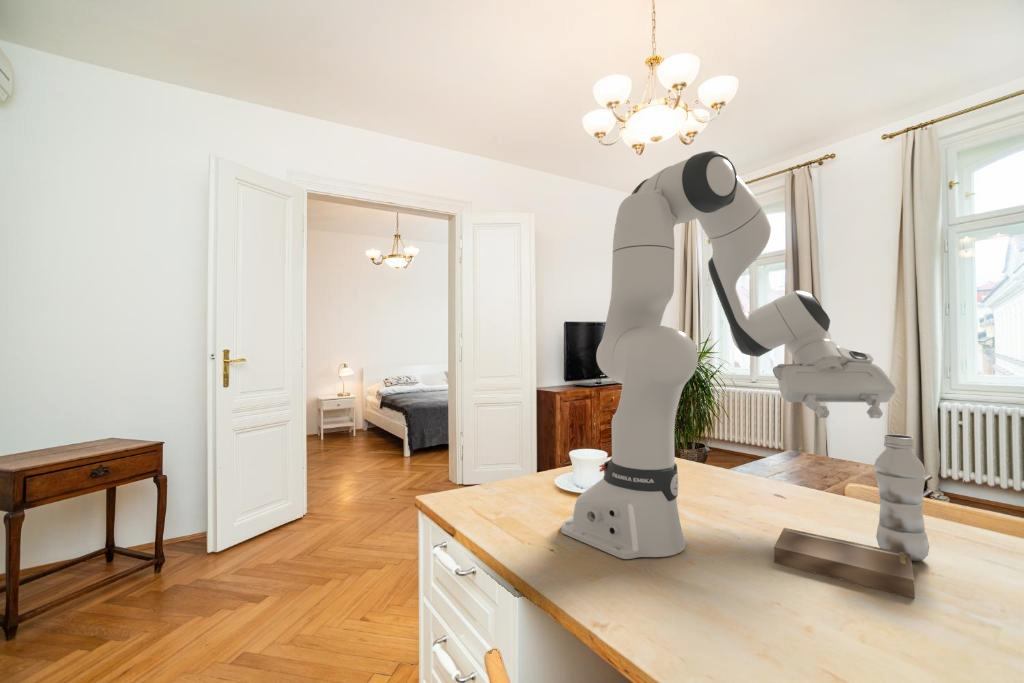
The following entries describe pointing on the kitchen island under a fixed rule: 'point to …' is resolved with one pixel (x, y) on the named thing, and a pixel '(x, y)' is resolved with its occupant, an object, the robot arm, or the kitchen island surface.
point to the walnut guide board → (846, 561)
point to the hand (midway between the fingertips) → (850, 416)
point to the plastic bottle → (901, 498)
